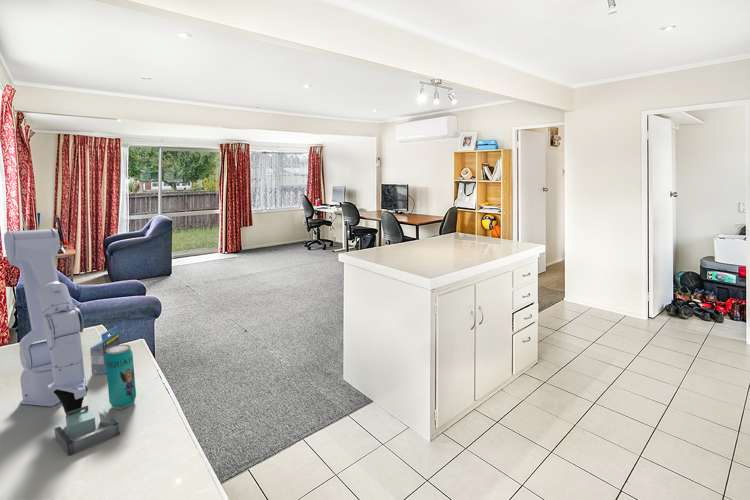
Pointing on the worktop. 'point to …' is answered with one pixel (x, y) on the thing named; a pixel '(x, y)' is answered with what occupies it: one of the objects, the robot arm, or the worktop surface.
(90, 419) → the mint cube with handle
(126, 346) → the beverage can
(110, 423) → the bay
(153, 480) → the worktop surface
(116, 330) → the label tape box
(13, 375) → the worktop surface
